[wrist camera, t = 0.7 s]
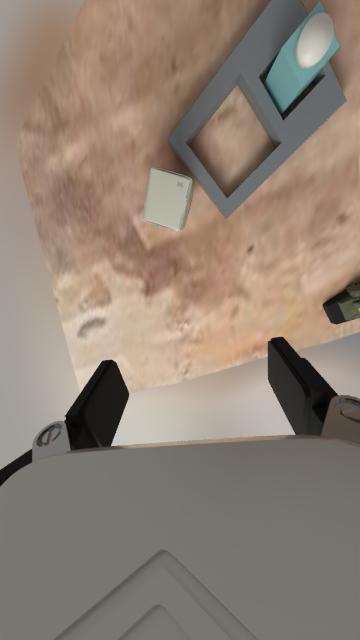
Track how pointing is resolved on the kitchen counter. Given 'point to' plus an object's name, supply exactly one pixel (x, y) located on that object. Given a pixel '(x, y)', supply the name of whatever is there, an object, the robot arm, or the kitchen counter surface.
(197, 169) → the frame
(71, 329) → the kitchen counter surface
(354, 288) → the mechanical leg
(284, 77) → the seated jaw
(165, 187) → the box
